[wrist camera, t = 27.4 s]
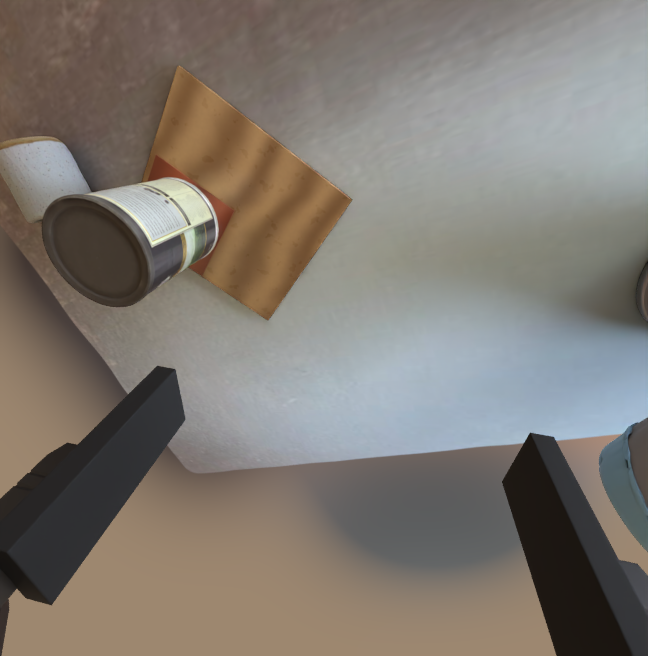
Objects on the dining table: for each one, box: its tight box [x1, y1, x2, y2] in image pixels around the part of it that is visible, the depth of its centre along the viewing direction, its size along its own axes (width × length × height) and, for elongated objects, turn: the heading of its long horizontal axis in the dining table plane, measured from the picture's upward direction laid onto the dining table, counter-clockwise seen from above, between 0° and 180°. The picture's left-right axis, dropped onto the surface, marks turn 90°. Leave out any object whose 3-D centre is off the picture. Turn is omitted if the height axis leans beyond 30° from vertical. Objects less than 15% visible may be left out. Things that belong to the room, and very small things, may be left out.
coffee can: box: [42, 177, 219, 307], centre depth 36 cm, size 10×10×14 cm
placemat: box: [141, 66, 352, 320], centre depth 40 cm, size 22×20×1 cm
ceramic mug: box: [0, 136, 92, 223], centre depth 39 cm, size 11×8×8 cm
